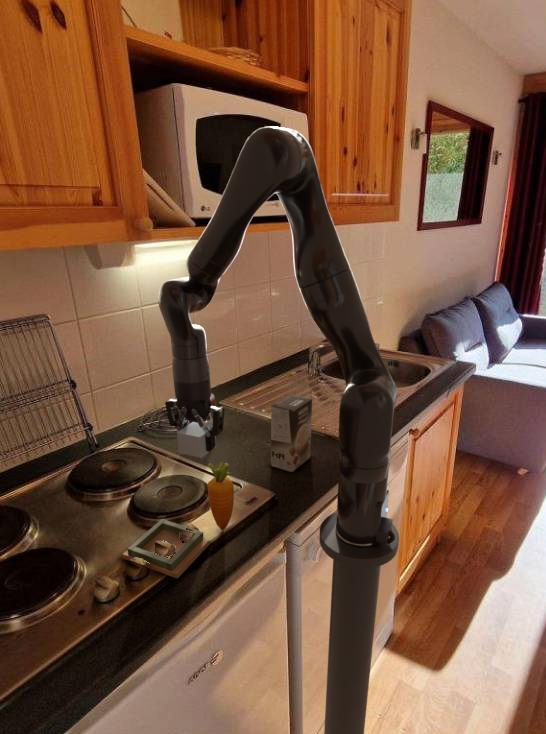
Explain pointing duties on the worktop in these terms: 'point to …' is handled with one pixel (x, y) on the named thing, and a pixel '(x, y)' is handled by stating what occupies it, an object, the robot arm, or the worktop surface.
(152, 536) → the dock pad
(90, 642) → the worktop surface
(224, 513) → the carrot
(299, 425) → the coffee box
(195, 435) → the light gray block
